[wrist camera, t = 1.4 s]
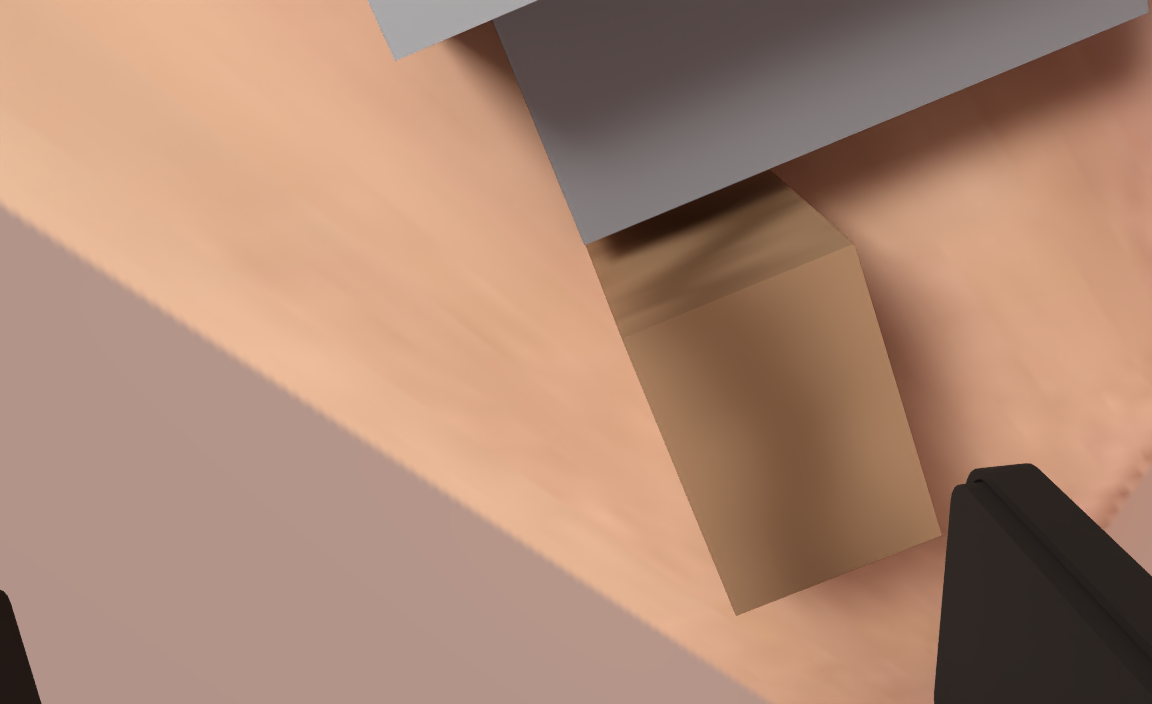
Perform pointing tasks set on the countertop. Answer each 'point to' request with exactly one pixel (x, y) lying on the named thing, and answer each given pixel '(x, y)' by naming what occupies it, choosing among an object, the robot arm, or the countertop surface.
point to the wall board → (731, 78)
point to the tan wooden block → (768, 386)
